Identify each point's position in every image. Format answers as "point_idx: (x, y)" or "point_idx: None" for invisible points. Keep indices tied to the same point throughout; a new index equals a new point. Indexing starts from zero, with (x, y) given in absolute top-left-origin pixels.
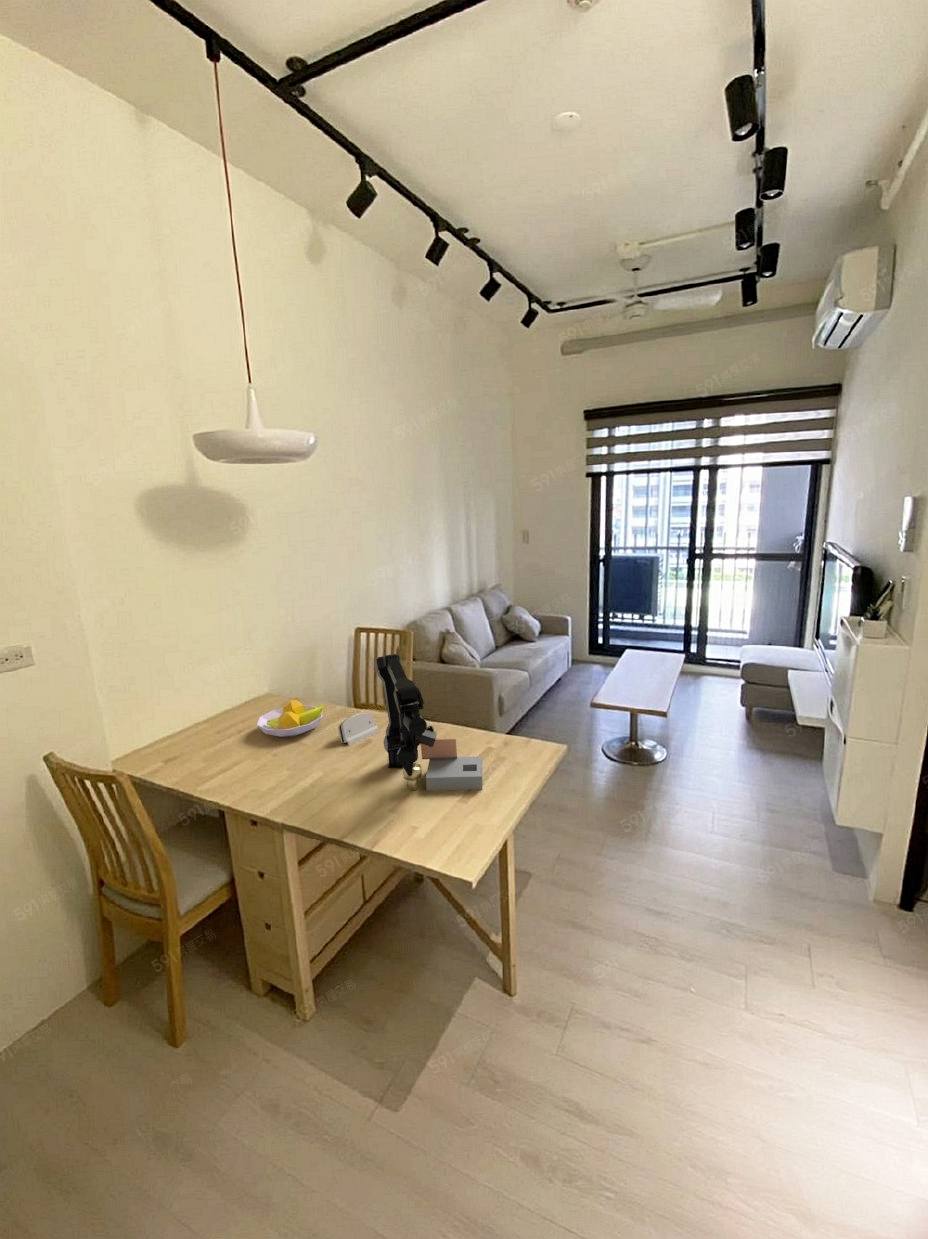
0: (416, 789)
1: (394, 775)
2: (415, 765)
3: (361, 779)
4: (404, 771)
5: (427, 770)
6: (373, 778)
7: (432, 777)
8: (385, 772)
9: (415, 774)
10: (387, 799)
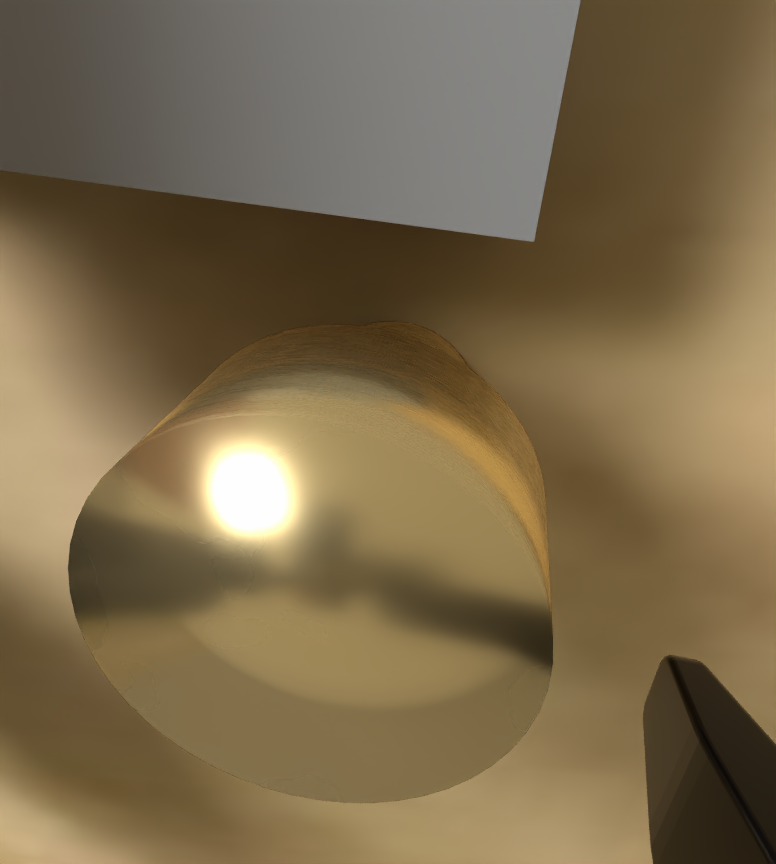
0: (461, 359)
1: (61, 596)
2: (195, 557)
3: (159, 849)
4: (446, 774)
5: (159, 185)
6: (138, 771)
7: (564, 39)
8: (5, 670)
9: (536, 534)
10: (630, 705)
